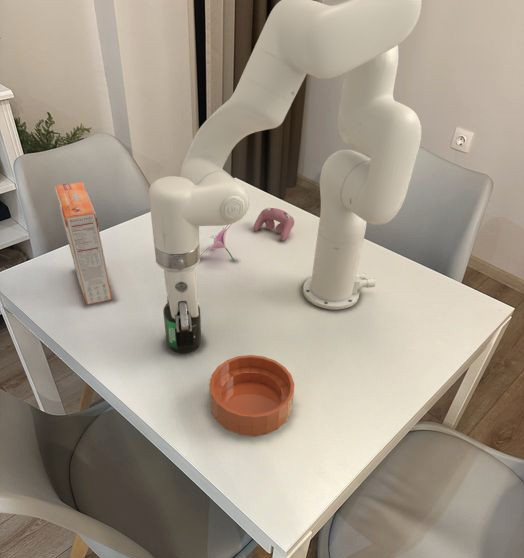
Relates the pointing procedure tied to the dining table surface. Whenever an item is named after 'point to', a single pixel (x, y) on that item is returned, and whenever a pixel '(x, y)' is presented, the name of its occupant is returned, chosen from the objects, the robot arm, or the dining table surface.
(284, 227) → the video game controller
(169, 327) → the supplement bottle
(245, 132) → the robot arm
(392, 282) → the dining table surface
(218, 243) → the lily
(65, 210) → the cracker box
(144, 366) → the dining table surface
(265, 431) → the bowl
